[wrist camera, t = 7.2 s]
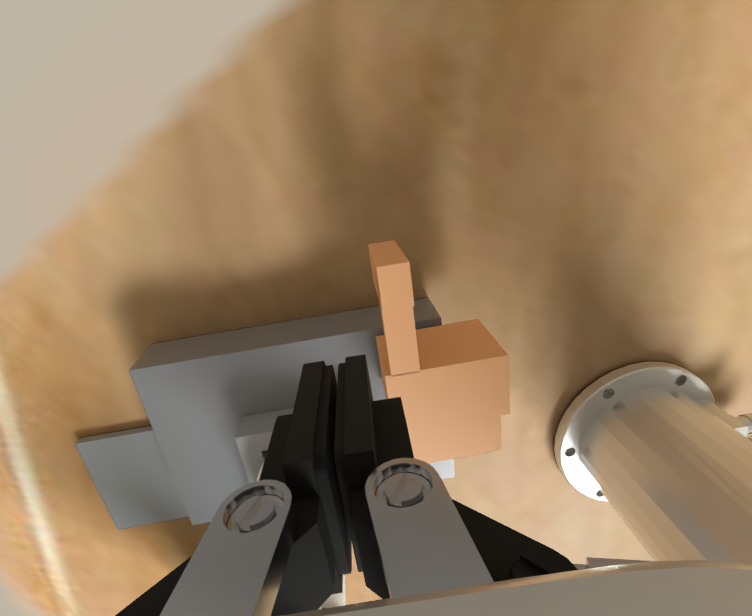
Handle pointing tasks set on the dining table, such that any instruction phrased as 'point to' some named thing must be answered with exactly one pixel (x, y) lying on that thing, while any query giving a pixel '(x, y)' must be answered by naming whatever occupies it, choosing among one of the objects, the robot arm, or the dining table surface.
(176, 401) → the grey base plate
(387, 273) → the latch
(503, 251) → the dining table surface
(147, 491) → the mat
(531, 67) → the dining table surface
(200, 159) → the dining table surface
